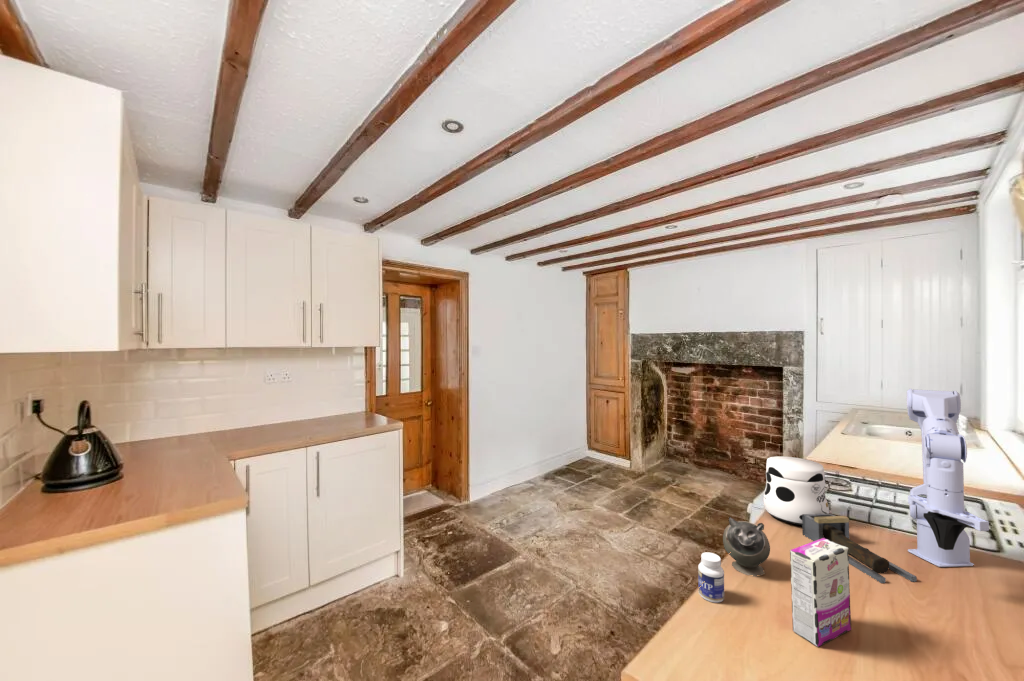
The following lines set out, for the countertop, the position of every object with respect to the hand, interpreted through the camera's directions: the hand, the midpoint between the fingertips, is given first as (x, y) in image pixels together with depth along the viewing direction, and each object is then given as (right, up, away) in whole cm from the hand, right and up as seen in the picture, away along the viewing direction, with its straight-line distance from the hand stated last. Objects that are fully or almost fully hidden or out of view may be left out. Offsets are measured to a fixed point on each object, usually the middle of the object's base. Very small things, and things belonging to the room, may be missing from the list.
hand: (945, 548), depth 90 cm
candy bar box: (-36, -11, -11) cm, 40 cm away
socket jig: (-7, -11, +17) cm, 21 cm away
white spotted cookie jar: (-6, -11, +39) cm, 41 cm away
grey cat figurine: (-38, -11, +11) cm, 41 cm away
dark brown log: (-7, -11, +18) cm, 22 cm away
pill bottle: (-53, -11, +1) cm, 54 cm away
